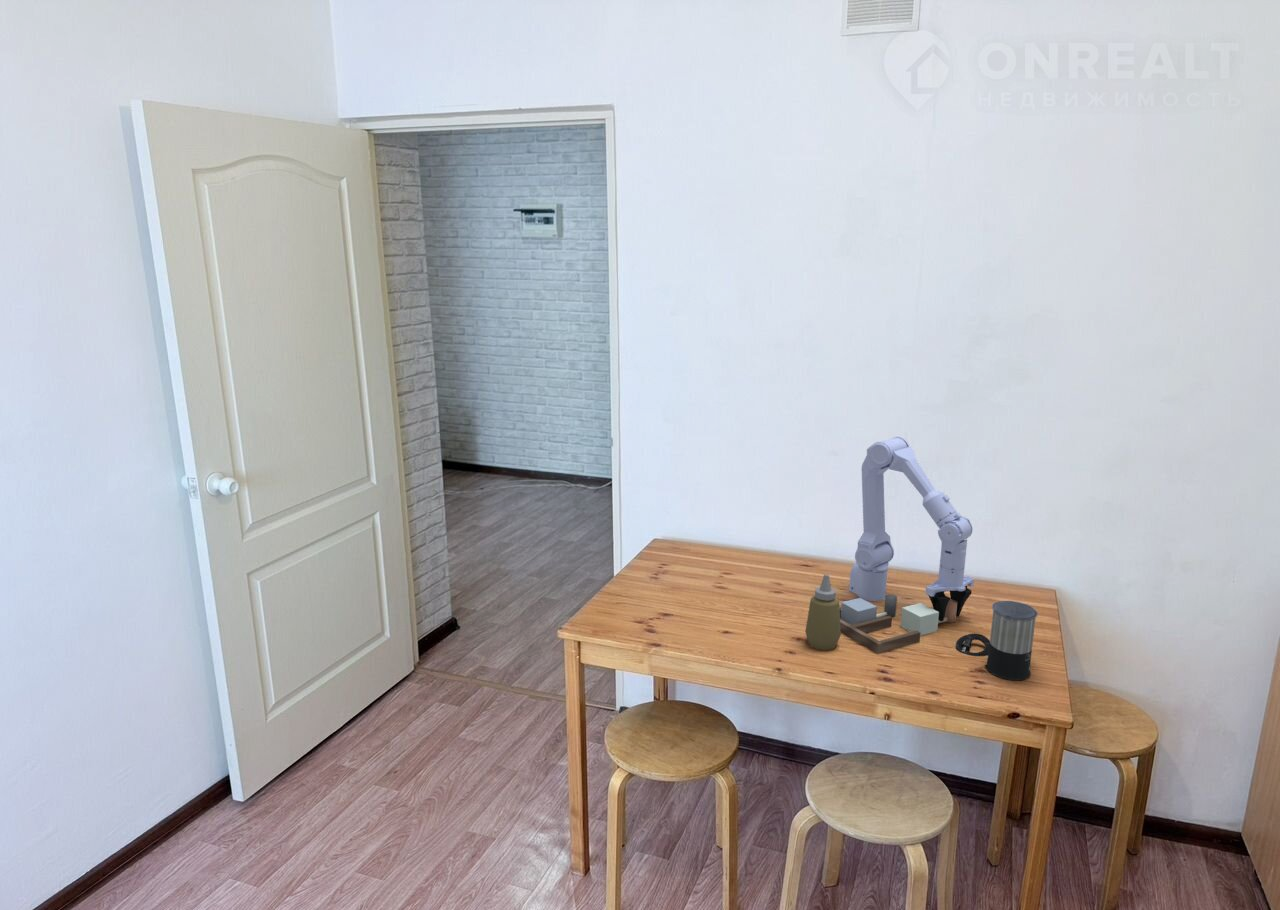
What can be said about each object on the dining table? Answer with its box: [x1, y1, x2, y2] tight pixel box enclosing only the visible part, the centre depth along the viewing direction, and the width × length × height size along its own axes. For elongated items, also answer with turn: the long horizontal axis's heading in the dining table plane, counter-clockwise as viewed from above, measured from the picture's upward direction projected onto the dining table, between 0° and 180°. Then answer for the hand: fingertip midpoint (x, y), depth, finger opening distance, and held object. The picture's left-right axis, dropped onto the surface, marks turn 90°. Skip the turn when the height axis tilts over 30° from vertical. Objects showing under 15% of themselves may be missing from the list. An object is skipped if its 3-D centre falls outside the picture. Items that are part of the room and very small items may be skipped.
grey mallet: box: [840, 593, 898, 625], centre depth 204 cm, size 6×15×5 cm, turn 117°
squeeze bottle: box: [804, 574, 841, 651], centre depth 190 cm, size 8×8×18 cm
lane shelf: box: [839, 606, 921, 655], centre depth 201 cm, size 20×28×3 cm
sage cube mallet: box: [900, 599, 957, 637], centre depth 201 cm, size 6×15×5 cm, turn 117°
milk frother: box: [955, 600, 1039, 681], centre depth 183 cm, size 14×16×15 cm
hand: (947, 617), depth 203 cm, fingers closed on sage cube mallet, 5 cm apart
